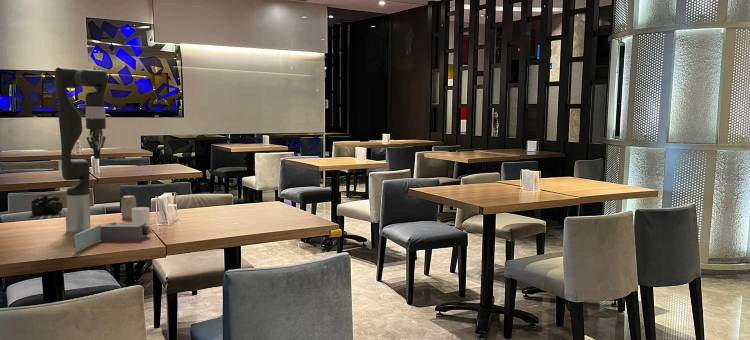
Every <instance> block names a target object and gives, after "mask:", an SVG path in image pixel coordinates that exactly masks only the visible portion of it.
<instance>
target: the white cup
mask: <svg viewBox="0 0 750 340" xmlns="http://www.w3.org/2000/svg"><path fill="white" fill-rule="evenodd" d="M131 210H132V219H131V220H132V222H131V223H146V226H149V227H150V211H151V210H150V207H147V206H139V207H137V206H136V208H132V209H131Z"/></svg>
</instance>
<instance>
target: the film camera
mask: <svg viewBox="0 0 750 340" xmlns="http://www.w3.org/2000/svg"><path fill="white" fill-rule="evenodd" d="M60 200H61V198H60V197H57V196H56V195H54V194H53V195H52V194H48V193H47V194H42V196H41V197H36V198H33V200H31V215H32V216H37V215H43V214H48V213H49V214H58V213H61V212H62V210H63V203H62V202H61V201H60Z"/></svg>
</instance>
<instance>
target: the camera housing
mask: <svg viewBox="0 0 750 340" xmlns="http://www.w3.org/2000/svg"><path fill="white" fill-rule="evenodd" d="M149 235H150V225H149V226H146V223H133V222H109V223H106V224H104V225H102V226H101V240H100V241H108V242H109V241H113V242H114V241H115V242H116V241H118V242H120V241H121V242H123V241H126V242H127V241H128V242H129V241H130V242H131V241H135V242H137V241H138V242H139V241H141V240H143V239H144V238H146V237H147V236H149Z"/></svg>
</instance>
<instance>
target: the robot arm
mask: <svg viewBox="0 0 750 340" xmlns="http://www.w3.org/2000/svg"><path fill="white" fill-rule="evenodd" d="M108 83H109V75H108V73H107V72H106V71H105V70H101V69H89V68H88V69H86V68H85V69H79V68H75V67H60V66H59V67H56V68H55V70H54V85H55V90H56V91H55V92H56V98H57V108H58V109H57V110H58V124H59V125H58V126H59V135H60V147H61V151H60V152H61V159H60V161H61V162H60V163H61V175H62V177H63V180H65V181H77V180H78V182H77V183H76V184H75V185H73V186H69V187H68V188H67V189H66V206H67V207H66V208H67V210H65V213H64V214H65V232H66V233H73V234H74V233H75V234H78V233H80V232H82V231H85V230H87V229H90V228H92V227H91V210H90V209H91V208H90V206H91V205H90V203H91V202H90V173H91V172H90V169H91V168H90V163H89V161H88V160H86V159H72V154H73V153H72V152H73V149H74V147H75V145H76V144H77V142H78V140H79V139H80V137H81V135H82V133H83V121H82V115H81V113H80V112H79V110H78V109H77V108H76V107H75V106H74V104H73V102H72V101H71V100H70V98H69V96H68V94H67V93H68V92H67V90H66V89H80V88H82V87H95V88H97V89H96V90H95V91H93V92H92V91H91V92H87V93H86V94H85V129H87V130H89V136H87V137H86V141H87V142H88V144H89V145H88V146H89V148H90V149H91V150H92V151H93V159H94V160H98V159H101V150H102V148H103V147H104V145H105V142H106V138H107V137H106V136H105V135H104V134H103V133H104V132H103V130H105V129H106V128H107V126H106V125H107V124H106V123H107V122H106V120H107V119H106V109H105V96H106V90H107V87H108Z"/></svg>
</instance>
